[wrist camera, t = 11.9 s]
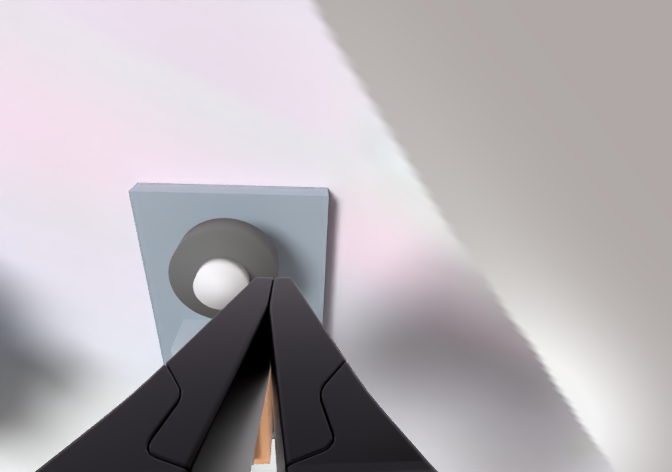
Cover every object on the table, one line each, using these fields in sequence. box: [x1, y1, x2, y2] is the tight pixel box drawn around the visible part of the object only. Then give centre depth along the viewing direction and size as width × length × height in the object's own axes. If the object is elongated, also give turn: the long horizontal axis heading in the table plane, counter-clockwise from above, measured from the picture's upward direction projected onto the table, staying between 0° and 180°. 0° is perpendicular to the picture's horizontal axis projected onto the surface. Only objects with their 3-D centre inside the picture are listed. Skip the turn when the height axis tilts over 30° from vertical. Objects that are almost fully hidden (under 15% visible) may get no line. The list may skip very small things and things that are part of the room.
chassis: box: [129, 183, 329, 439], centre depth 23 cm, size 16×10×4 cm, turn 177°
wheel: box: [168, 218, 279, 318], centre depth 19 cm, size 5×5×2 cm
